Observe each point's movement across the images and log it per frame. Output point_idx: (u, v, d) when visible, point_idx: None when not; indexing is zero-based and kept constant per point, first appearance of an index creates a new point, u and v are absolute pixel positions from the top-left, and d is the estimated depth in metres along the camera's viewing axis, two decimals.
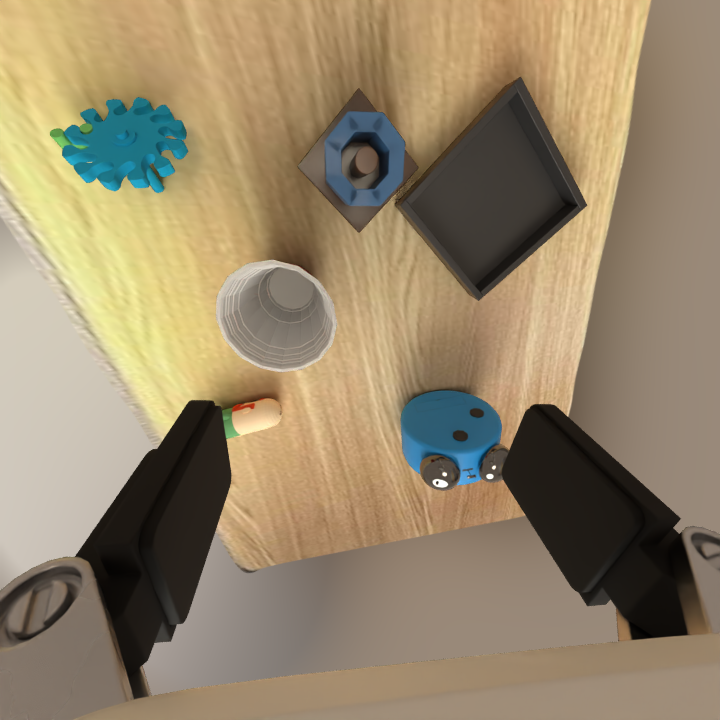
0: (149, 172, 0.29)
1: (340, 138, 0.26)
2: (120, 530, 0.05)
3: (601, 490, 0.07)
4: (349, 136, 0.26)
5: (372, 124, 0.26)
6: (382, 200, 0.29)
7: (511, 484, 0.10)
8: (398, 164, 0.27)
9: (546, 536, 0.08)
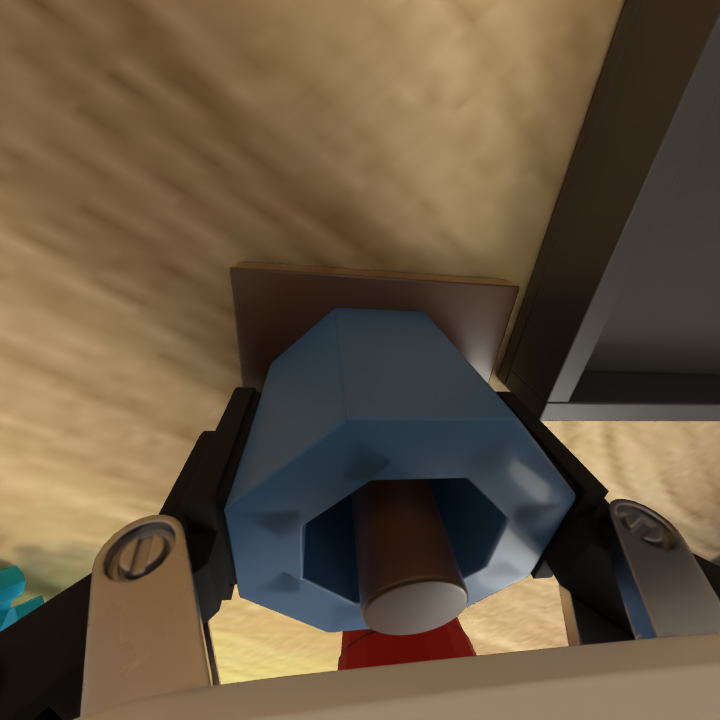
0: None
1: (274, 567, 0.06)
2: (201, 493, 0.06)
3: None
4: (296, 546, 0.06)
5: (341, 474, 0.05)
6: (530, 567, 0.07)
7: None
8: (532, 481, 0.06)
9: None
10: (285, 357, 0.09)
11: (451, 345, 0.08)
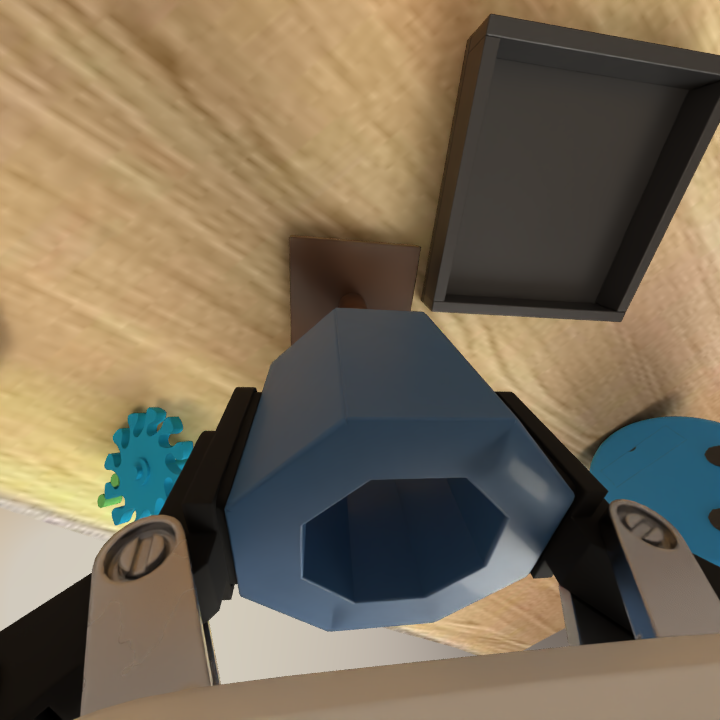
0: (182, 466, 0.27)
1: (274, 566, 0.06)
2: (201, 492, 0.06)
3: None
4: (296, 545, 0.06)
5: (341, 474, 0.05)
6: (529, 566, 0.07)
7: None
8: (531, 481, 0.06)
9: None
10: (285, 357, 0.09)
11: (451, 345, 0.08)
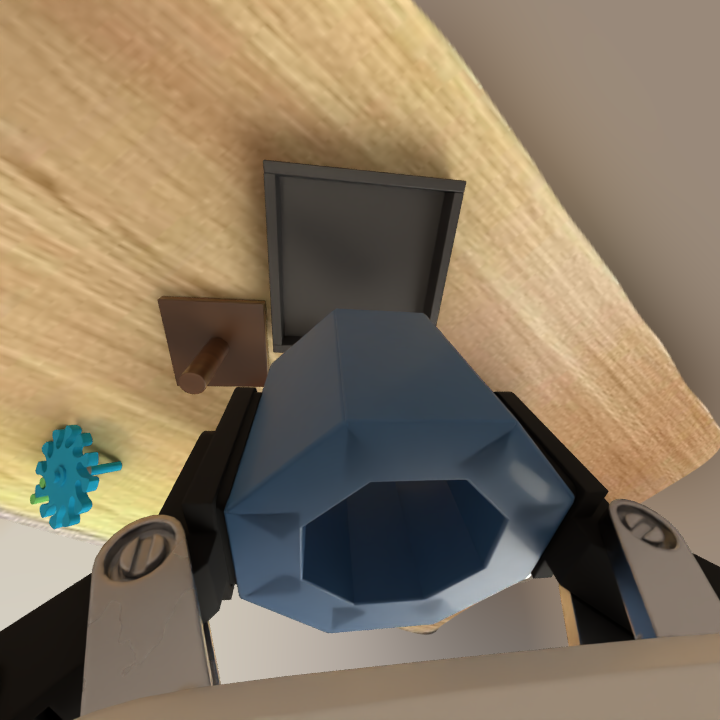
0: (99, 470, 0.33)
1: (273, 568, 0.06)
2: (201, 492, 0.06)
3: None
4: (296, 547, 0.06)
5: (341, 476, 0.05)
6: (529, 568, 0.07)
7: None
8: (531, 483, 0.06)
9: None
10: (285, 358, 0.09)
11: (451, 346, 0.08)
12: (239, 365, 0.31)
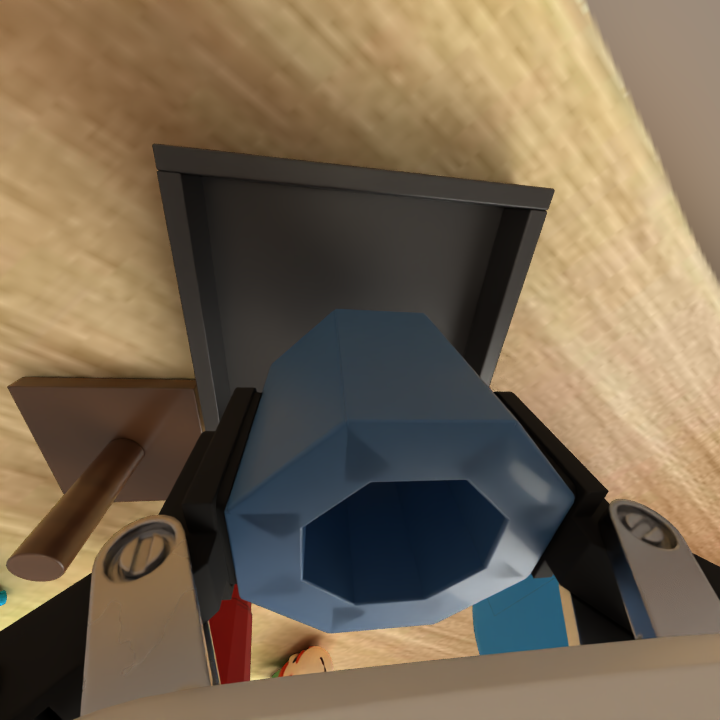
0: None
1: (273, 568, 0.06)
2: (201, 492, 0.06)
3: None
4: (296, 548, 0.06)
5: (341, 476, 0.05)
6: (530, 568, 0.07)
7: None
8: (531, 483, 0.06)
9: None
10: (285, 358, 0.09)
11: (451, 347, 0.08)
12: (165, 473, 0.19)
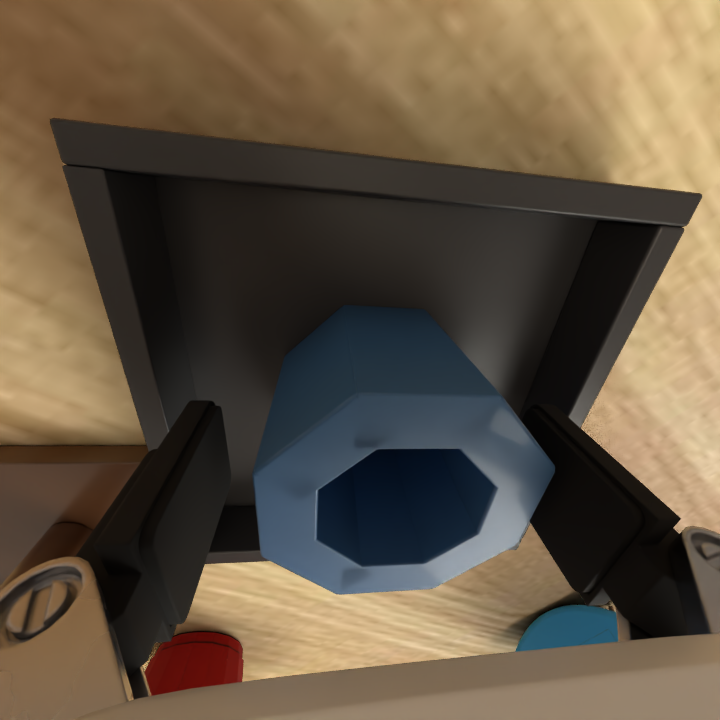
0: None
1: (292, 528, 0.07)
2: (120, 530, 0.05)
3: (601, 490, 0.07)
4: (312, 509, 0.07)
5: (352, 443, 0.06)
6: (518, 535, 0.08)
7: None
8: (516, 453, 0.07)
9: (546, 536, 0.08)
10: (298, 349, 0.10)
11: (448, 337, 0.09)
12: None
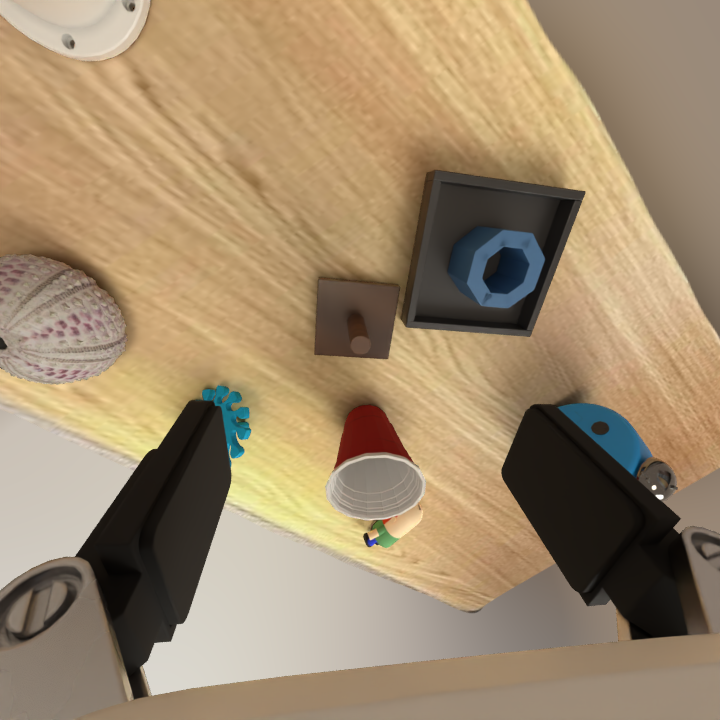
0: None
1: (477, 272, 0.29)
2: (120, 530, 0.05)
3: (601, 490, 0.07)
4: (484, 265, 0.28)
5: (499, 244, 0.28)
6: (534, 285, 0.30)
7: (511, 484, 0.10)
8: (535, 251, 0.28)
9: (546, 536, 0.08)
10: (462, 240, 0.32)
11: None
12: (368, 339, 0.36)
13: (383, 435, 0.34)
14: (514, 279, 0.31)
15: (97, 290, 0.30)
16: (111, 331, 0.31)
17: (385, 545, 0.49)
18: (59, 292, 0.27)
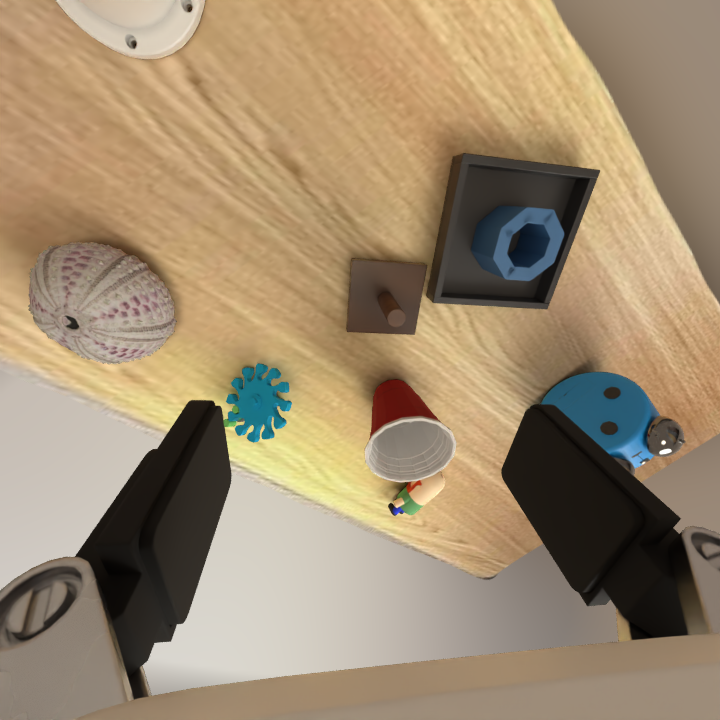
0: None
1: (503, 247, 0.31)
2: (120, 530, 0.05)
3: (601, 490, 0.07)
4: (509, 241, 0.31)
5: (522, 220, 0.30)
6: (554, 258, 0.32)
7: (511, 484, 0.10)
8: (555, 227, 0.31)
9: (546, 536, 0.08)
10: (485, 219, 0.34)
11: None
12: None
13: (415, 403, 0.37)
14: (535, 254, 0.33)
15: (151, 274, 0.32)
16: (165, 312, 0.33)
17: (410, 512, 0.53)
18: (122, 275, 0.30)
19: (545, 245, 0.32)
